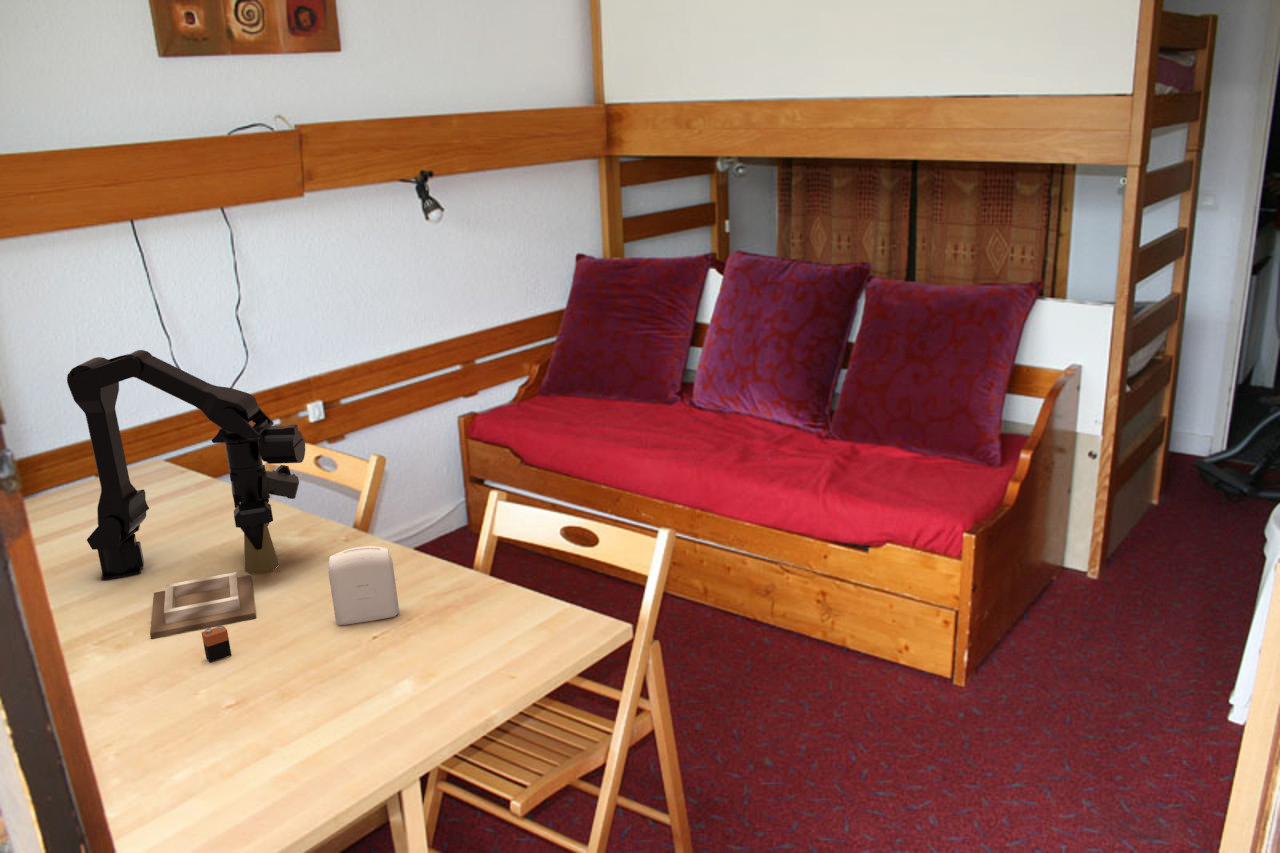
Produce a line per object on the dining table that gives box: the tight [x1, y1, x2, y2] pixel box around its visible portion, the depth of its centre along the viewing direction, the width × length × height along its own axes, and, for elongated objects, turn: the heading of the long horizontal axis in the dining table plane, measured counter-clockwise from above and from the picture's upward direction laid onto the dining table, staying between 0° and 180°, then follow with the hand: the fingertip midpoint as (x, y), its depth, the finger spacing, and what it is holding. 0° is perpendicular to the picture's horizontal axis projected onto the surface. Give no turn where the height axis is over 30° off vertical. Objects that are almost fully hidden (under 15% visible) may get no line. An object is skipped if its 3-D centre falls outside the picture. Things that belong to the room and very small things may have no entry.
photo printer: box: [327, 545, 400, 626], centre depth 171 cm, size 10×4×12 cm, turn 104°
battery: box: [201, 625, 232, 663], centre depth 162 cm, size 2×3×5 cm, turn 129°
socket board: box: [149, 571, 257, 640], centre depth 178 cm, size 16×16×3 cm
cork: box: [243, 523, 280, 575], centre depth 192 cm, size 6×6×11 cm
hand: (258, 544), depth 192 cm, fingers closed on cork, 4 cm apart
